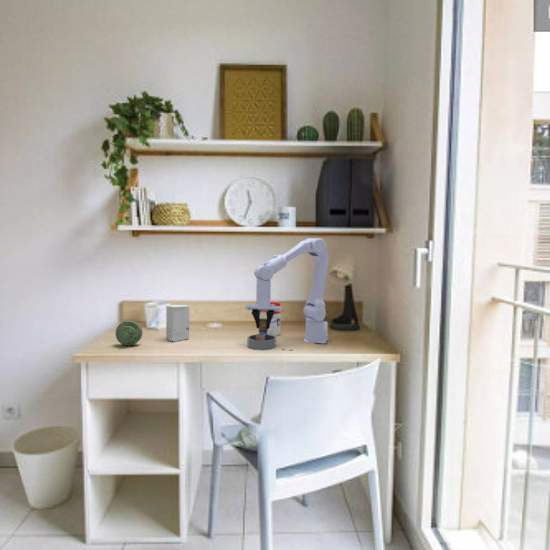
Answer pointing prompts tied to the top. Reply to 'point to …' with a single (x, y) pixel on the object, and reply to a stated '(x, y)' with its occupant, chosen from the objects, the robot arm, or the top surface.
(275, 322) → the ink box
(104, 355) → the top surface
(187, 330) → the skincare box
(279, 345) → the top surface
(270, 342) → the charcoal cup
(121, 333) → the decorative artifact
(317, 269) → the robot arm
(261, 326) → the loose walnut peg
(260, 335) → the walnut peg in cup
